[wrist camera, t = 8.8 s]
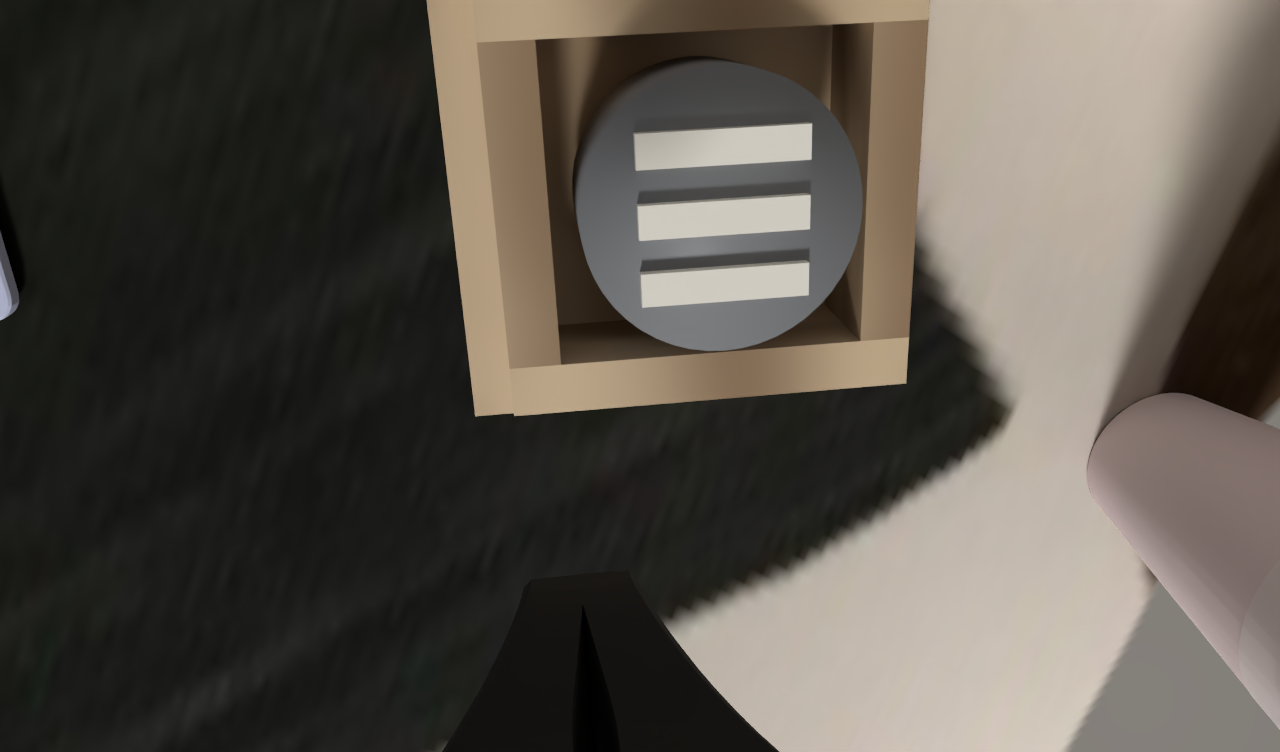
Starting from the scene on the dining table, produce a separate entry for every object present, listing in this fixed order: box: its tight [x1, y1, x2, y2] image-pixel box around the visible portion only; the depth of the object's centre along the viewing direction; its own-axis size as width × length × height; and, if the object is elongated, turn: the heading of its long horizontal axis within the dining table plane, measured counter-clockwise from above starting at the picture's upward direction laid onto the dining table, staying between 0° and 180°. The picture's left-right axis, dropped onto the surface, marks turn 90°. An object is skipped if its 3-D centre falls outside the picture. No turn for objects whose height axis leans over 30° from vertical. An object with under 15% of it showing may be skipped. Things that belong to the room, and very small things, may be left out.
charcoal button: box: [572, 56, 863, 351], centre depth 18 cm, size 5×5×3 cm
